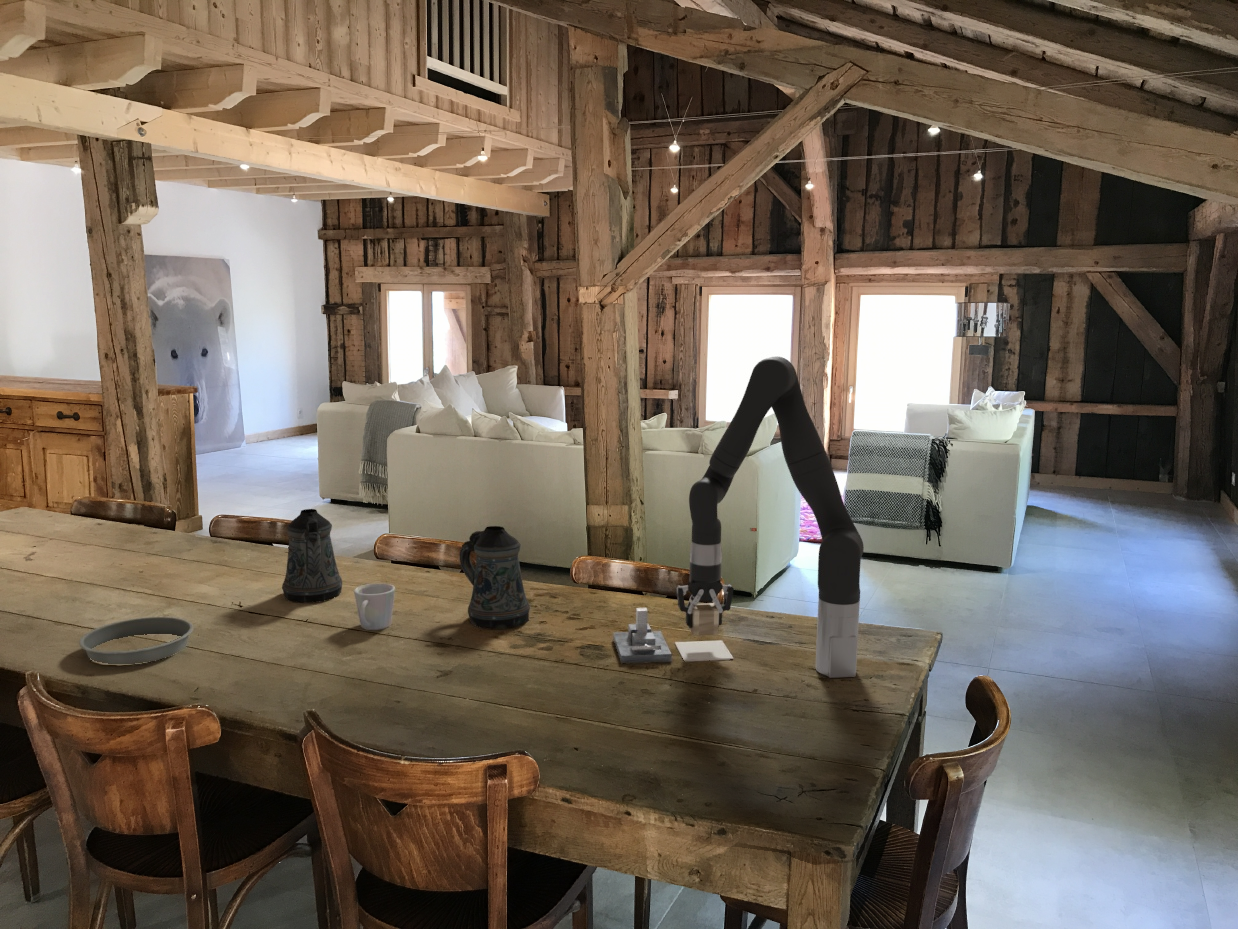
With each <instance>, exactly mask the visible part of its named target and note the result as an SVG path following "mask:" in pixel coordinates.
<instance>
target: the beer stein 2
mask: <svg viewBox="0 0 1238 929" xmlns="http://www.w3.org/2000/svg"><path fill="white" fill-rule="evenodd" d="M521 546H522V545H521V542H520V541H519V540H517V538H516V537H514V536H512V535H511V534H509V533H508V532H507V530H506V529H505V528H504V527H503V526H497V525H489V526H486V527H485V528H484V530H480V531H478V530H477V531H474V532H472V533H471V534H470V536H469V540H467V541H465V542H464V543H463V544H462V545H461V548H460V551H459V563H460V566H461V569H462V571H463V573H464V575H465V577H466V578H467V580H468V582H470V584H471V585H472V593H471V597H470V602H469V604H468V606H467V613H468V616H469V621H470V623H471V625H472V626H474V627H475V628H476V627H477V628H480V629H487V630H505V629H507V630H508V629H513V628H516V627H521V626H523V625H524V624H526V623H528V622H529V621H530V620H529V619H530V616H529V615H530V610H531V606H530V603H529V601H528V598H527V595H526V592H525V587H524V583H523V579H522V572H521V566H520V558H519V553H520V550H521ZM472 552H474V553H475V555H476V560H475V561H476V562H475V567H474V565H473V564H472V561H471V553H472Z"/></svg>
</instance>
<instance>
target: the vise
mask: <svg viewBox="0 0 1238 929" xmlns="http://www.w3.org/2000/svg"><path fill="white" fill-rule="evenodd" d="M635 610H636V612H635V615H636V616H635V619H636V620H635V623H628V627H627V628H628V629H627V630H628V631H619V632H612V633H613V634H612V638H613V639H612V640H614V641H613V643H615V644H614V646H616V647H615V649H617V650H616V653H617V652H618V653H617V656H618V659H619V658H620V659H619V662H620V664H621V663H633V664H645V663H644V662H649V663H648V664H652V663H651V662H659V663H672V656H673V655H672V652H671V650H670V648H669V646H668V644H667V642H666V640H665V638H664V636H663V633H662V631H661V630H652V628H651V626H650V624H649V622H648V619H649V618H648V615H649V614H648V609H647V607H636V609H635Z"/></svg>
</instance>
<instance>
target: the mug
mask: <svg viewBox="0 0 1238 929" xmlns="http://www.w3.org/2000/svg"><path fill="white" fill-rule="evenodd" d="M353 594H354V598H355V604H356V608H357V613H358V618H359V619H358V620H359V622H360V623H359V624H360V627H361V628H362V629H364V630H367V631H379V630H380V631H381V630H383V629H387V628H389V627H390V626H391V624H392V620H393V619H392V618H393V613H394V612H393V611H394V610H393V609H394V602H395V594H396V587H395V585H393V584H390V583H389V584H388V583H381V582H379V583H377V582H375V583H367V584H362V585H359V586H357V587H356V588H354V590H353Z"/></svg>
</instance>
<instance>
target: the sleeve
mask: <svg viewBox="0 0 1238 929" xmlns="http://www.w3.org/2000/svg"><path fill="white" fill-rule="evenodd" d="M692 614H693V624H692V628H689V630H690V631H691V633H692V635H693V636H719V629H720V625H719V610H718V609H717V608H716V606H715V605H714V603H713V602H707V603H706V602H705V603H704V602H698V604H697V606H695V608H694V609H693V612H692Z"/></svg>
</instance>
